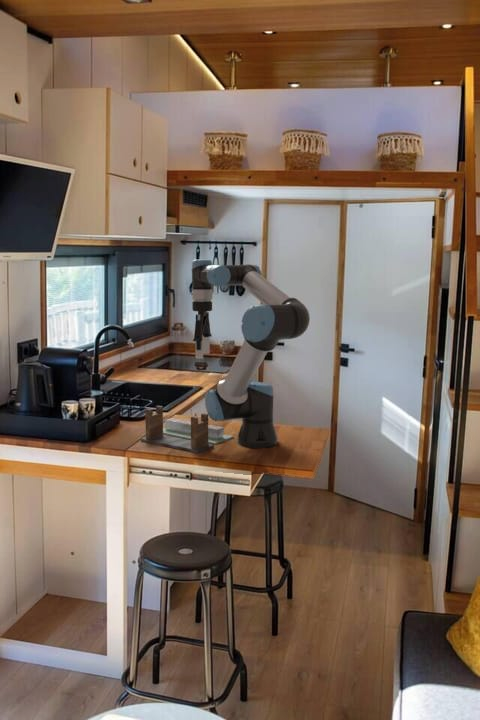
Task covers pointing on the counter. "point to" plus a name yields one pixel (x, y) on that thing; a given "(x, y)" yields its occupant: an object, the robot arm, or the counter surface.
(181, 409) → the counter surface
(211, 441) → the sage mat
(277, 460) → the counter surface
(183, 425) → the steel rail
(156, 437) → the hook rack
